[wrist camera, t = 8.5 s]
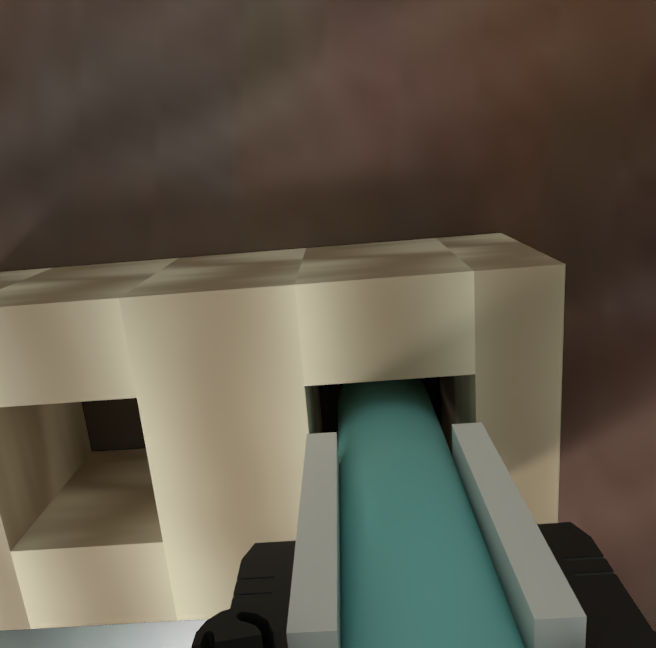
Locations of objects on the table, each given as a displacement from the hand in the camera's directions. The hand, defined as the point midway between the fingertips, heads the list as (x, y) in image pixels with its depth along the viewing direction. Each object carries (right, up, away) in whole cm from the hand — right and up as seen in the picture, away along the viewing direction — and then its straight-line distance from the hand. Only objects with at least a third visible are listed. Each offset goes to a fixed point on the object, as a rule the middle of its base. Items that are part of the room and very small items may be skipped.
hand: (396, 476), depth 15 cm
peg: (0, +1, +4) cm, 4 cm away
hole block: (-4, +2, +7) cm, 8 cm away
